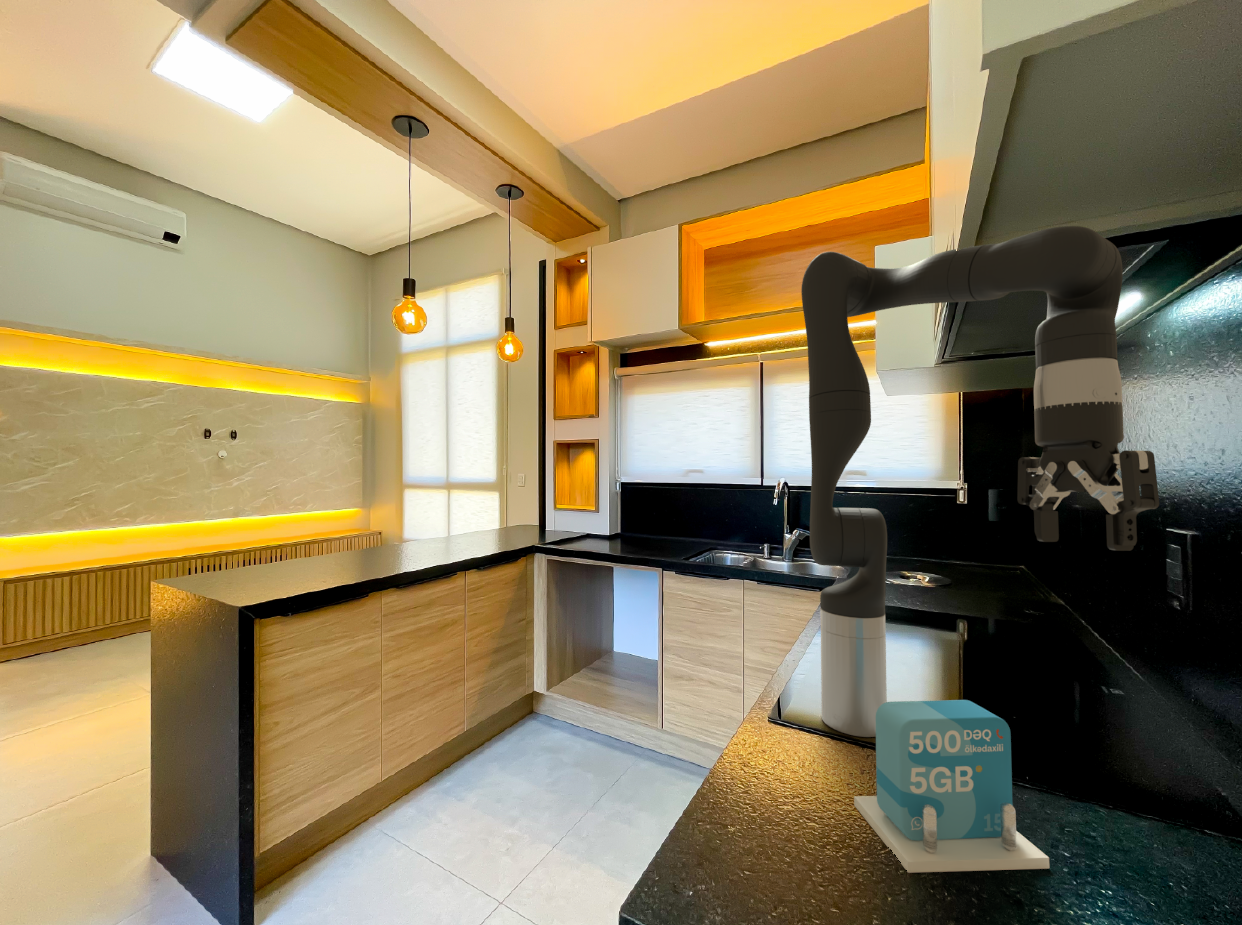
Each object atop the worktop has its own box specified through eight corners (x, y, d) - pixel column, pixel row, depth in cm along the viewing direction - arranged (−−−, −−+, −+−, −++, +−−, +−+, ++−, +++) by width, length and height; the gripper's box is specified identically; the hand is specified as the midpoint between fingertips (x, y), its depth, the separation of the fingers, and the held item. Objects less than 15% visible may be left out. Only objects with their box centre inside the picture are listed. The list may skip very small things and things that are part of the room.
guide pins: (877, 799, 57) (876, 759, 57) (955, 797, 57) (954, 758, 58) (928, 856, 48) (927, 809, 48) (1019, 853, 49) (1018, 807, 49)
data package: (902, 842, 50) (899, 720, 51) (875, 813, 55) (874, 701, 55) (1014, 837, 51) (1011, 717, 51) (980, 808, 55) (977, 698, 56)
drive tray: (854, 805, 57) (854, 796, 58) (971, 802, 58) (971, 793, 58) (908, 872, 47) (907, 861, 48) (1049, 868, 48) (1049, 857, 48)
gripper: (1178, 393, 51) (1185, 554, 50) (1051, 413, 65) (1055, 539, 64) (1108, 392, 50) (1114, 554, 50) (995, 412, 65) (999, 538, 64)
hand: (1081, 545), depth 57 cm, fingers open, 8 cm apart
